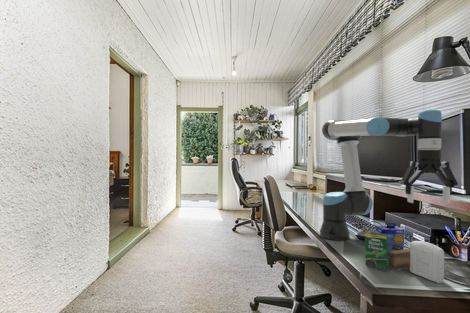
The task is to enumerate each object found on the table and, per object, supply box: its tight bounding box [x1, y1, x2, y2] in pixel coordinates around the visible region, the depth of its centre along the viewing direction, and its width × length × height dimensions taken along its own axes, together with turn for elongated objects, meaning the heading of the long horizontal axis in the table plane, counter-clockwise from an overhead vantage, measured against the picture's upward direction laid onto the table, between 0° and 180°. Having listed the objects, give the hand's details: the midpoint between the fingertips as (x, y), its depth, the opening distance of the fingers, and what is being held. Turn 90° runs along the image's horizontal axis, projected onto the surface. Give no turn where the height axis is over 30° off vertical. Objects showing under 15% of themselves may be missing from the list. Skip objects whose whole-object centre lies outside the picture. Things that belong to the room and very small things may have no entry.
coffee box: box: [364, 231, 390, 271], centre depth 100 cm, size 8×3×13 cm, turn 49°
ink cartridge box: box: [375, 222, 405, 256], centre depth 112 cm, size 10×6×14 cm, turn 88°
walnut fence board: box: [389, 248, 410, 271], centre depth 102 cm, size 2×20×6 cm, turn 108°
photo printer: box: [409, 240, 445, 284], centre depth 92 cm, size 10×4×12 cm, turn 24°
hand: (428, 202), depth 103 cm, fingers open, 13 cm apart
